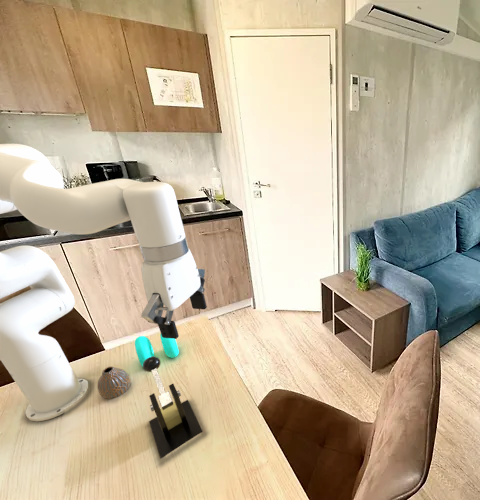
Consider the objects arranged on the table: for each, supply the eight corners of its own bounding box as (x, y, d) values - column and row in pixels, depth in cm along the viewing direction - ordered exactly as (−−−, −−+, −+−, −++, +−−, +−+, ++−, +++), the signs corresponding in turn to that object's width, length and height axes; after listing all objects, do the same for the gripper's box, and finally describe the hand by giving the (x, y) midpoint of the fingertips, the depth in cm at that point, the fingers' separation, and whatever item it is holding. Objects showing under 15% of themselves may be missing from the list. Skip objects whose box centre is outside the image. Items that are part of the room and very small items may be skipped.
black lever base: (150, 424, 72) (135, 390, 67) (188, 402, 77) (177, 369, 72) (162, 462, 64) (146, 426, 59) (203, 434, 69) (192, 400, 64)
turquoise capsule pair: (142, 356, 92) (132, 332, 88) (176, 343, 98) (169, 320, 94) (144, 376, 85) (134, 351, 81) (181, 361, 91) (174, 336, 87)
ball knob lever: (142, 364, 71) (139, 358, 69) (158, 357, 73) (156, 351, 71) (159, 413, 66) (157, 408, 63) (177, 403, 68) (175, 398, 66)
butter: (161, 417, 72) (158, 410, 71) (178, 407, 75) (175, 400, 74) (166, 431, 69) (163, 424, 68) (184, 420, 71) (181, 413, 70)
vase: (117, 405, 76) (105, 382, 73) (96, 401, 78) (84, 377, 74) (139, 384, 83) (129, 362, 79) (119, 380, 84) (109, 358, 80)
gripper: (177, 232, 62) (194, 298, 69) (107, 269, 46) (138, 349, 53) (209, 233, 61) (223, 300, 68) (149, 271, 46) (175, 353, 53)
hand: (186, 321), depth 61 cm, fingers open, 9 cm apart
